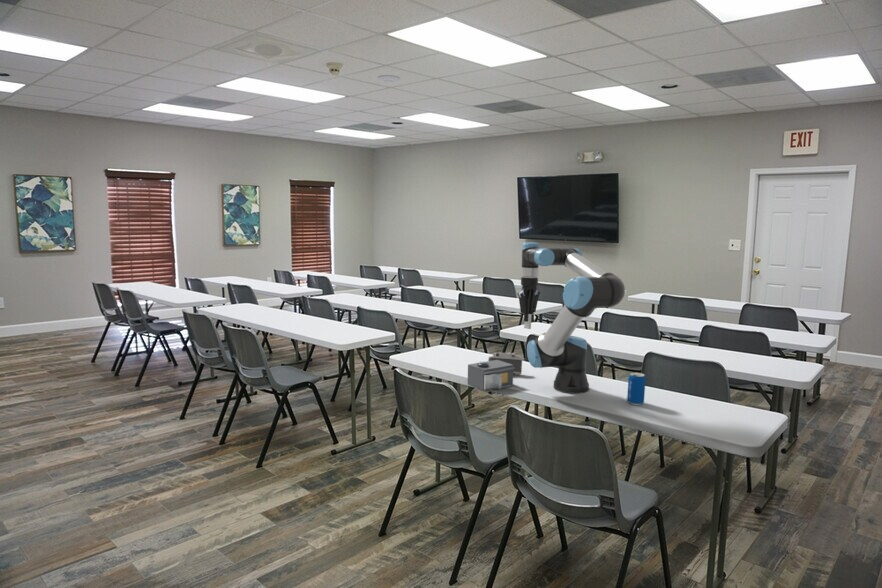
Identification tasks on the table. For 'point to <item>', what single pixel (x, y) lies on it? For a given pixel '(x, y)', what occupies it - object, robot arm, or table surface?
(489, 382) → the side door
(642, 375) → the beverage can
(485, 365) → the sliding door box
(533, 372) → the table surface
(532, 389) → the table surface
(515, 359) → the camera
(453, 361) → the table surface
